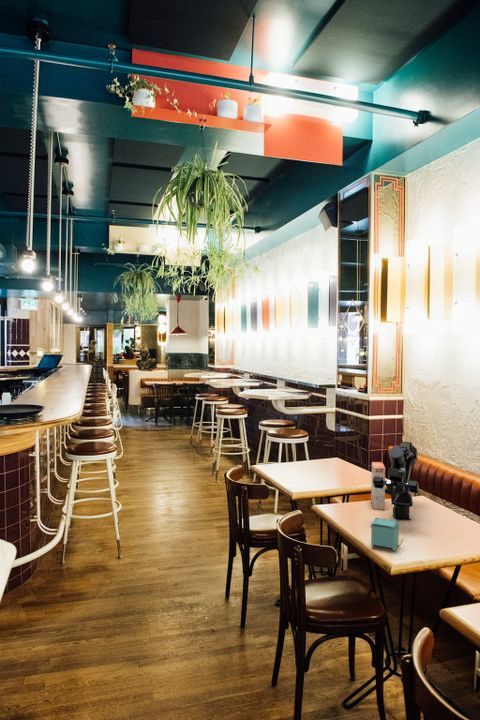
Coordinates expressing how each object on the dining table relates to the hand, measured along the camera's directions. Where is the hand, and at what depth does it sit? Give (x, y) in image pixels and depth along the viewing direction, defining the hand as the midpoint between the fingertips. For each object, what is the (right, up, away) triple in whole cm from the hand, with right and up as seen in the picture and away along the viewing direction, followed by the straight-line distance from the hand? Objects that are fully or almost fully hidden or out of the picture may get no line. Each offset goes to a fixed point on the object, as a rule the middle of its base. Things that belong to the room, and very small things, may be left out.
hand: (392, 501), depth 208 cm
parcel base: (-4, -13, -8) cm, 16 cm away
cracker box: (+4, -13, +38) cm, 41 cm away
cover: (-8, -13, -15) cm, 22 cm away
